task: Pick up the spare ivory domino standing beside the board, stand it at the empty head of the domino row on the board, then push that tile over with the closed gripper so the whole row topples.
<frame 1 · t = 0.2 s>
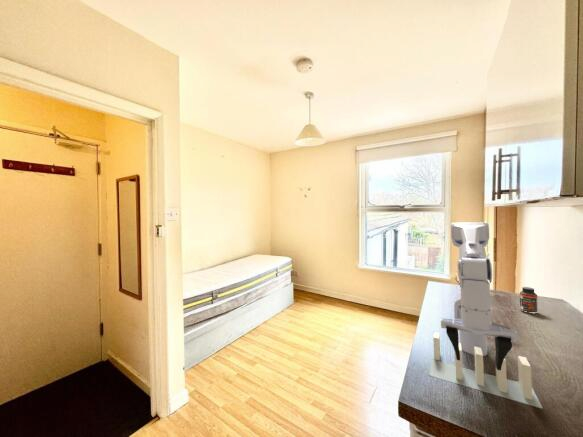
hand: (477, 362, 57), 10 cm above the worktop, tool pointing down, fingers open, 7 cm apart
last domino: (525, 393, 59), point 1 cm above the worktop, touching board
head domino: (437, 360, 76), on the worktop
smartphone: (485, 326, 99), on the worktop
board: (478, 384, 64), on the worktop
domino 2: (459, 374, 66), point 1 cm above the worktop, touching board
supplement bottle: (528, 312, 112), on the worktop
domino 3: (479, 380, 64), point 1 cm above the worktop, touching board
domino 4: (501, 386, 61), point 1 cm above the worktop, touching board
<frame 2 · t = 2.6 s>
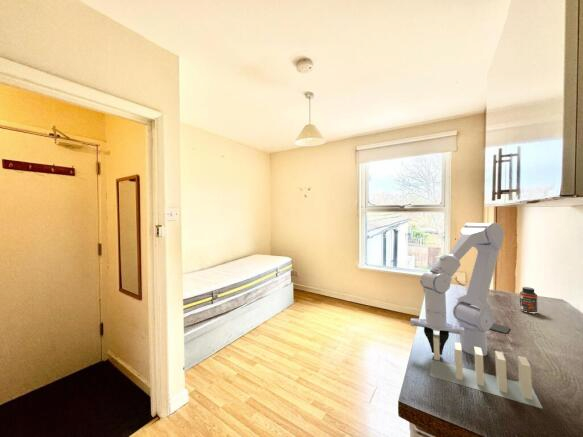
hand: (437, 352, 76), 2 cm above the worktop, tool pointing down, fingers closed on head domino, 1 cm apart
head domino: (437, 360, 76), on the worktop, touching gripper
everything else where it was.
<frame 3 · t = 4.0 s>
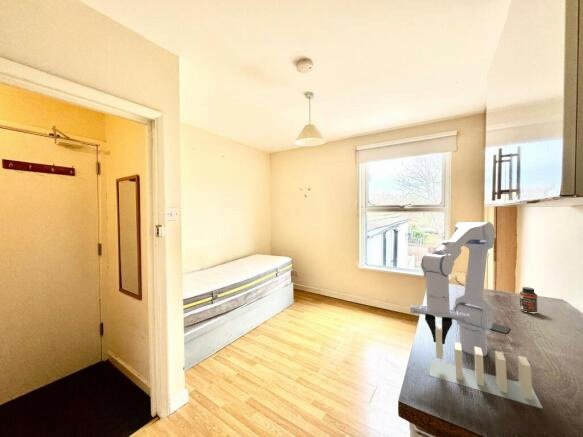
hand: (439, 341, 69), 9 cm above the worktop, tool pointing down, fingers closed on head domino
head domino: (439, 354, 69), point 6 cm above the worktop, touching gripper
everything else where it was.
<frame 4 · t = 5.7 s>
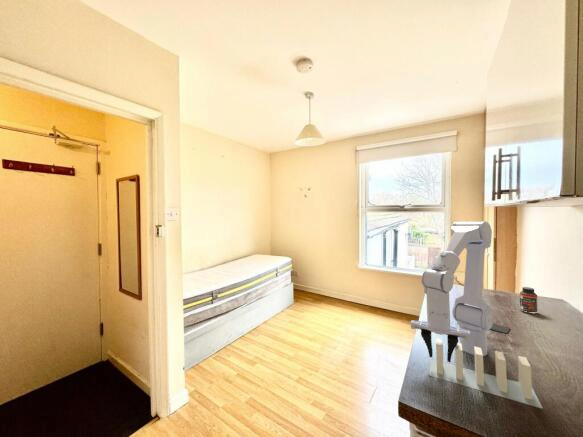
hand: (439, 358, 69), 5 cm above the worktop, tool pointing down, fingers open, 4 cm apart
head domino: (440, 369, 69), point 1 cm above the worktop, touching board
domino 2: (459, 374, 66), point 1 cm above the worktop, touching board, gripper
everything else where it was.
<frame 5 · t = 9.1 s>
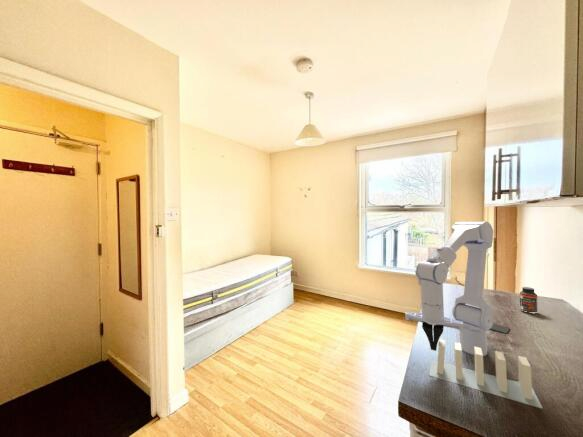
hand: (433, 348, 70), 7 cm above the worktop, tool pointing down, fingers closed
domino 2: (459, 374, 66), point 1 cm above the worktop, touching board
everything else where it was.
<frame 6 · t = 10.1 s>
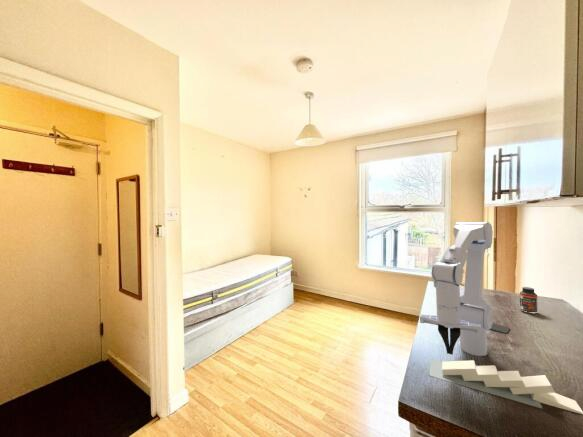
hand: (449, 352, 67), 7 cm above the worktop, tool pointing down, fingers closed
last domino: (530, 390, 58), point 2 cm above the worktop, tilted 100°, touching board, domino 4
head domino: (443, 368, 68), point 2 cm above the worktop, tilted 71°, touching board, domino 2
domino 2: (462, 373, 66), point 2 cm above the worktop, tilted 71°, touching board, domino 3, head domino
domino 3: (483, 379, 63), point 2 cm above the worktop, tilted 70°, touching board, domino 2, domino 4
domino 4: (509, 385, 60), point 2 cm above the worktop, tilted 66°, touching domino 3, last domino
everything else where it was.
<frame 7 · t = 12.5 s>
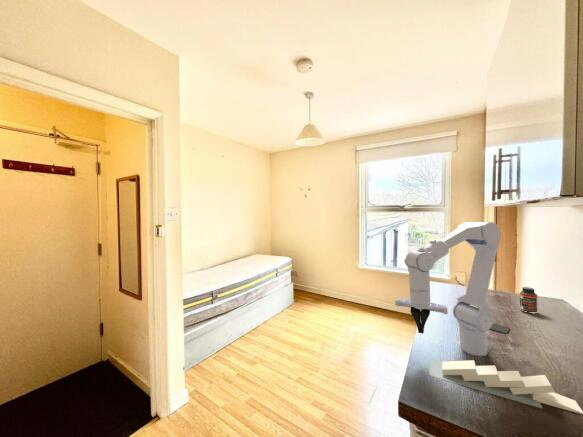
hand: (421, 331, 75), 9 cm above the worktop, tool pointing down, fingers closed
domino 4: (509, 386, 60), point 2 cm above the worktop, tilted 66°, touching board, domino 3, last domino
everything else where it was.
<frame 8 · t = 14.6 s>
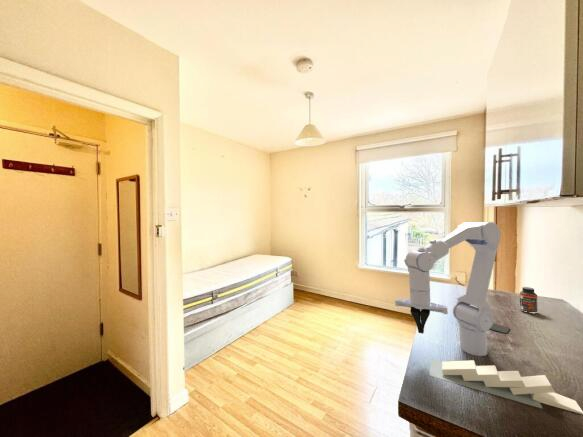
hand: (421, 331, 75), 9 cm above the worktop, tool pointing down, fingers closed
nothing on the worktop moved.
at the end: head domino inside the target area (0.3 cm from its centre), point 1.9 cm above the worktop; domino 3 tilted 70°; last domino tilted 100° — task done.
